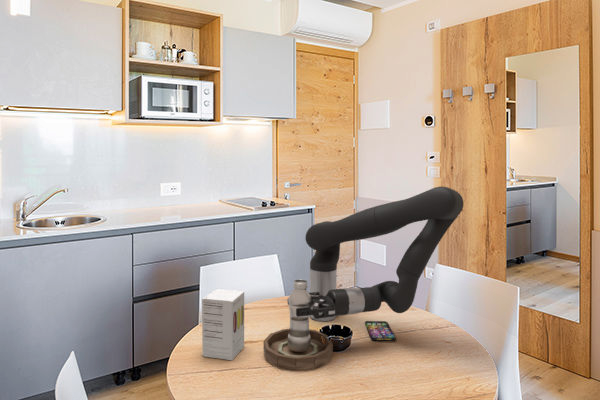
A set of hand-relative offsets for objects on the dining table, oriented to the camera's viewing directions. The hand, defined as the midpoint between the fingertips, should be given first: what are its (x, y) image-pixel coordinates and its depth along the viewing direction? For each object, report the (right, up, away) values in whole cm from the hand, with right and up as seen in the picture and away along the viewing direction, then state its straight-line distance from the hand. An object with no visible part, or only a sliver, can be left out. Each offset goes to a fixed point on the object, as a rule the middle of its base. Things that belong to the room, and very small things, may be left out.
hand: (291, 306), depth 120 cm
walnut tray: (+2, -14, +2) cm, 14 cm away
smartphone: (+28, -13, +18) cm, 36 cm away
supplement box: (-19, -14, +3) cm, 24 cm away
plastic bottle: (+2, -13, +2) cm, 13 cm away
